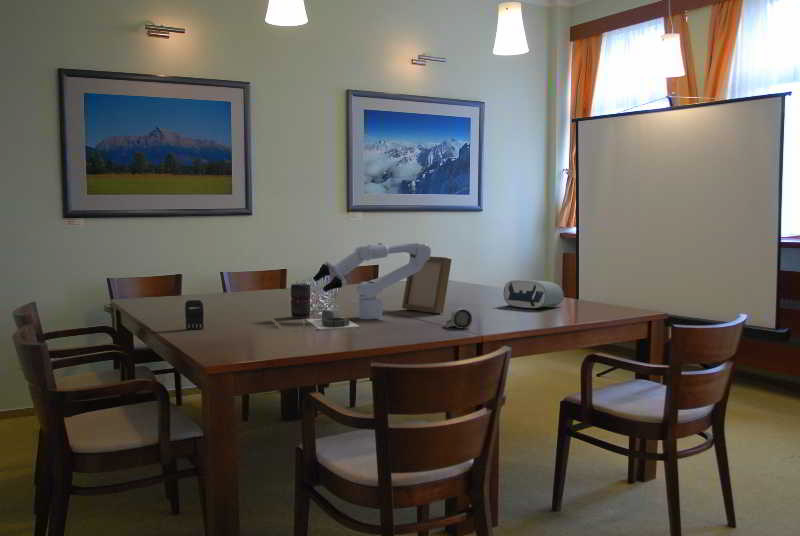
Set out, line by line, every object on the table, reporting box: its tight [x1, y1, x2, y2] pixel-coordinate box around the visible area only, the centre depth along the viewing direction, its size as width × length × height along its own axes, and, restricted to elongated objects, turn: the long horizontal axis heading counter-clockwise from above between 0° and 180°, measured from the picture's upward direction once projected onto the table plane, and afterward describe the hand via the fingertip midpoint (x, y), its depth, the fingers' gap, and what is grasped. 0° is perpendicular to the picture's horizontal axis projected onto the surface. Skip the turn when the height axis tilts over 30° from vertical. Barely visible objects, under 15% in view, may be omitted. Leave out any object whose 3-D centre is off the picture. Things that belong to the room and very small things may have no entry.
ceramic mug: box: [443, 307, 473, 330], centre depth 266 cm, size 11×8×8 cm
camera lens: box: [290, 283, 311, 320], centre depth 285 cm, size 8×8×15 cm
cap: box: [321, 309, 335, 319], centre depth 278 cm, size 5×5×4 cm
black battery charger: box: [184, 299, 205, 330], centre depth 263 cm, size 7×4×11 cm, turn 106°
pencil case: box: [503, 279, 565, 309], centre depth 322 cm, size 22×19×13 cm
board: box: [305, 316, 361, 332], centre depth 272 cm, size 16×24×3 cm, turn 19°
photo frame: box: [401, 256, 453, 315], centre depth 309 cm, size 15×22×25 cm
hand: (319, 284), depth 276 cm, fingers open, 7 cm apart
